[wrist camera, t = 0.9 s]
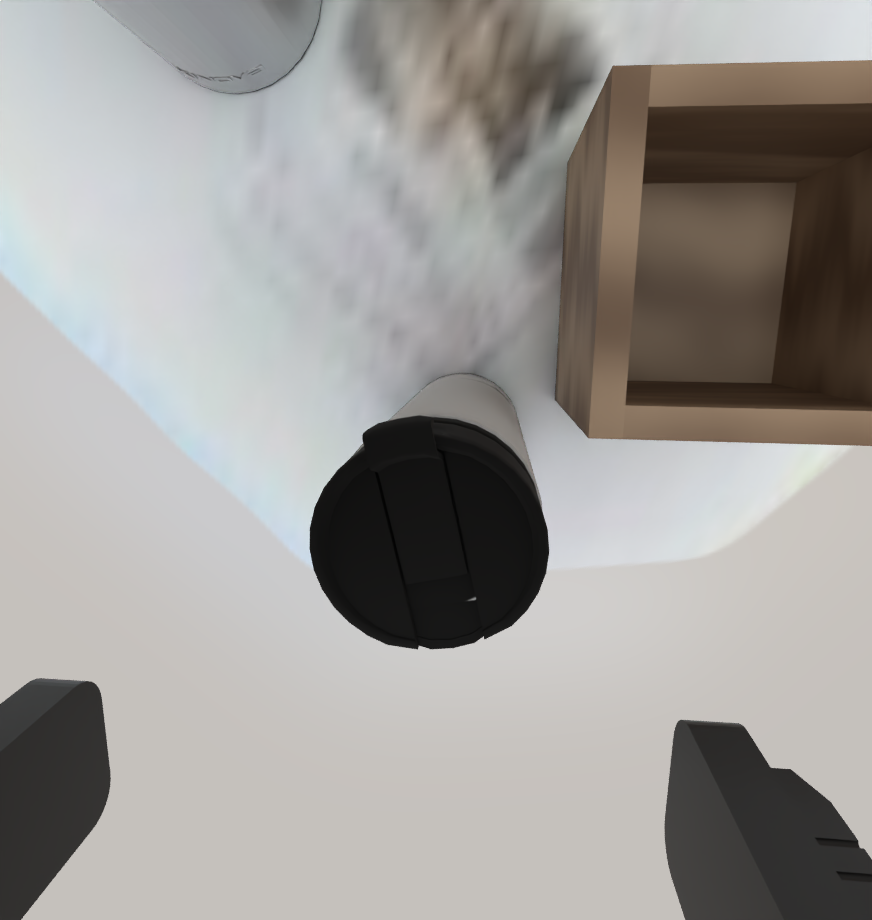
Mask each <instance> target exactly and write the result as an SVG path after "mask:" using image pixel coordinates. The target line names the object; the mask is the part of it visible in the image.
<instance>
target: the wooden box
mask: <svg viewBox="0 0 872 920" xmlns="http://www.w3.org/2000/svg"><path fill="white" fill-rule="evenodd" d="M555 400H556V401H557V403H558V404H559V405H560V406H561V407H562V408H563V409H564V411H565V412H566V413H567V414H568V415H569V416H570V417H571V419H572V420H573V421H574V422H575V423H576V424H577V426H578V427H579V428H580V429H581V430H582V431H583V432H584V434H585V435H586V436H587V437H588V438H601V439H638V440H675V441H713V442H750V443H787V444H824V445H862V446H872V60H866V61H819V62H773V63H726V64H679V65H633V66H613V67H612V69H611V71H610V73H609V75H608V77H607V79H606V82H605V84H604V86H603V88H602V90H601V92H600V94H599V97H598V99H597V101H596V103H595V105H594V107H593V109H592V112H591V114H590V116H589V118H588V120H587V122H586V124H585V127H584V129H583V131H582V133H581V135H580V137H579V139H578V142H577V144H576V146H575V148H574V150H573V152H572V154H571V157H570V159H569V161H568V163H567V182H566V201H565V220H564V239H563V258H562V277H561V295H560V314H559V333H558V352H557V371H556V390H555Z"/></svg>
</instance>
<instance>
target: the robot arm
mask: <svg viewBox="0 0 872 920" xmlns="http://www.w3.org/2000/svg"><path fill="white" fill-rule="evenodd" d="M93 1H94V2H95V3H96V4H98V5H99V6H100V7H101V8H102V9H104V10H105V11H106V12H107V13H109V14H110V15H111V16H112V17H113V18H115V19H116V20H117V21H118V22H120V23H121V24H122V25H123V26H124V27H126V28H127V29H128V30H129V31H130V32H132V33H133V34H134V35H135V36H137V37H138V38H139V39H140V40H141V41H143V42H144V43H145V44H146V45H147V46H149V47H150V48H151V49H152V50H154V51H155V52H156V53H157V54H158V55H160V56H161V57H162V58H163V59H165V60H166V61H167V62H168V63H169V64H171V65H172V66H173V67H174V68H176V69H177V70H178V71H179V72H180V73H182V74H183V75H184V76H186V77H187V78H189V79H191V80H192V81H194V82H195V83H197V84H199V85H200V86H203V87H206V88H209V89H212V90H214V91H217V92H225V93H235V94H237V93H244V92H251V91H256V90H258V89H261V88H263V87H266V86H268V85H271V84H273V83H274V82H276V81H277V80H278V79H280V78H281V77H283V76H284V75H286V74H287V73H288V72H289V71H290V70H291V69H292V68H293V67H294V65H295V64H296V63H297V62H298V61H299V60H300V59H301V57H302V56H303V54H304V52H305V51H306V49H307V47H308V45H309V44H310V42H311V40H312V37H313V34H314V32H315V29H316V26H317V23H318V20H319V13H320V6H321V0H93ZM110 779H111V778H110V767H109V758H108V749H107V740H106V732H105V723H104V714H103V705H102V697H101V693H100V690H99V688H98V687H97V685H96V684H95V683H93V682H89V681H74V680H57V679H42V678H40V679H35V680H32V681H30V682H29V683H27V684H26V685H24V686H23V687H22V688H21V689H19V690H18V691H17V692H15V693H14V694H13V695H11V696H10V697H9V698H8V699H6V700H5V701H4V702H2V703H1V704H0V920H21V919H22V918H23V916H24V915H25V914H26V913H27V911H28V910H29V908H31V906H32V905H33V904H34V902H35V901H36V900H37V899H38V897H39V896H40V895H41V894H42V892H43V891H44V890H45V889H46V887H47V886H48V885H49V883H50V882H51V881H52V879H53V878H54V877H55V876H56V875H57V873H58V872H59V871H60V870H61V868H62V867H63V866H64V865H65V863H66V862H67V861H68V860H69V858H70V857H71V855H72V854H73V853H74V852H75V851H76V849H77V848H78V847H79V846H80V844H81V843H82V842H83V840H84V839H85V838H86V837H87V835H88V834H89V833H90V832H91V830H92V829H93V828H94V826H95V825H96V824H97V822H98V820H99V818H100V816H101V814H102V812H103V810H104V807H105V805H106V801H107V798H108V794H109V789H110ZM665 844H666V853H667V859H668V865H669V869H670V873H671V877H672V880H673V883H674V886H675V889H676V892H677V895H678V899H679V902H680V904H681V908H682V911H683V914H684V917H685V920H872V859H871V858H870V856H869V855H868V854H867V852H866V851H865V849H861V848H860V847H859V845H858V840H857V838H856V837H855V835H854V834H853V833H852V831H851V830H850V828H849V827H848V826H847V824H846V823H845V821H844V820H843V819H842V817H841V816H840V814H839V813H838V812H837V810H836V809H835V808H834V806H833V805H832V803H831V802H830V801H829V800H827V799H826V798H825V797H824V796H823V795H821V794H820V793H819V792H818V791H817V790H815V789H814V788H813V787H812V786H810V785H809V784H808V783H807V782H805V781H804V780H803V779H802V778H801V777H799V776H798V775H797V774H796V773H794V772H793V771H792V770H791V769H778V768H777V769H776V768H770V767H769V765H768V763H767V761H766V760H765V758H764V757H763V755H762V753H761V752H760V751H759V749H758V747H757V746H756V744H755V742H754V741H753V739H752V738H751V736H750V735H749V733H748V731H747V730H746V729H745V727H744V726H742V725H741V724H739V723H723V722H707V721H691V720H680V721H678V723H677V725H676V727H675V731H674V738H673V747H672V756H671V767H670V776H669V785H668V795H667V804H666V814H665Z"/></svg>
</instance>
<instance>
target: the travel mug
mask: <svg viewBox="0 0 872 920" xmlns="http://www.w3.org/2000/svg"><path fill="white" fill-rule="evenodd" d="M310 553H311V558H312V563H313V568H314V571H315V574H316V576H317V578H318V581H319V583H320V585H321V587H322V590H323V591H324V593H325V594H326V596H327V597H328V599H329V600H330V602H331V603H332V605H333V606H334V607H335V608H336V610H338V611H339V613H341V614H342V616H343V617H344V618H345V619H346V620H347V621H348V622H349V623H351V624H352V625H354V626H355V627H357V628H358V629H359V630H361V631H362V632H364V633H365V634H366V635H368V636H370V637H372V638H374V639H376V640H378V641H381V642H383V643H385V644H388V645H393V646H399V647H406V648H412V649H418V646H423V647H426V648H429V649H442V648H455V647H459V646H463V645H467V644H471V643H475V642H476V641H477V640H479V639H480V638H482V637H483V636H484V639H486V638H488V637H490V636H492V635H494V634H496V633H498V632H500V631H502V630H504V629H506V628H508V627H510V626H512V625H513V624H514V623H515V622H516V621H517V620H518V619H519V618H520V617H521V616H522V615H523V614H524V613H525V612H526V611H527V610H528V608H529V606H530V605H531V603H532V602H533V600H534V599H535V597H536V595H537V594H538V592H539V590H540V587H541V584H542V582H543V579H544V577H545V574H546V569H547V562H548V556H549V543H548V530H547V526H546V523H545V519H544V515H543V512H542V502H541V498H540V494H539V491H538V487H537V484H536V480H535V477H534V473H533V470H532V466H531V463H530V459H529V456H528V452H527V449H526V446H525V442H524V439H523V435H522V432H521V428H520V425H519V421H518V418H517V414H516V411H515V408H514V406H513V404H512V402H511V400H510V398H509V397H508V396H507V395H506V393H505V392H504V391H503V390H502V389H501V388H500V387H498V386H497V385H496V384H495V383H494V382H492V381H490V380H488V379H486V378H484V377H481V376H478V375H474V374H467V373H458V374H450V375H447V376H443V377H440V378H438V379H436V380H435V381H433V382H431V383H429V384H428V385H427V386H426V387H425V388H424V389H422V390H421V391H420V392H419V393H418V394H417V395H416V396H415V397H414V398H412V399H411V400H410V401H409V402H408V403H407V404H406V405H405V406H404V407H403V408H402V409H400V410H399V411H398V412H397V413H396V414H395V415H394V416H393V417H392V418H391V419H390V420H388V421H386V422H382V423H378V424H376V425H375V426H373V427H371V428H370V429H368V430H367V431H366V432H364V433H363V444H362V445H361V446H360V447H359V449H358V450H357V451H356V453H355V454H354V455H353V456H352V457H351V458H350V459H349V460H348V461H347V462H346V463H345V464H344V465H343V466H342V467H341V468H339V469H338V470H337V472H336V473H335V474H334V476H333V477H332V478H331V479H330V481H329V482H328V483H327V485H326V486H325V487H324V489H323V491H322V493H321V495H320V497H319V499H318V502H317V504H316V506H315V508H314V513H313V517H312V521H311V526H310Z"/></svg>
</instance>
